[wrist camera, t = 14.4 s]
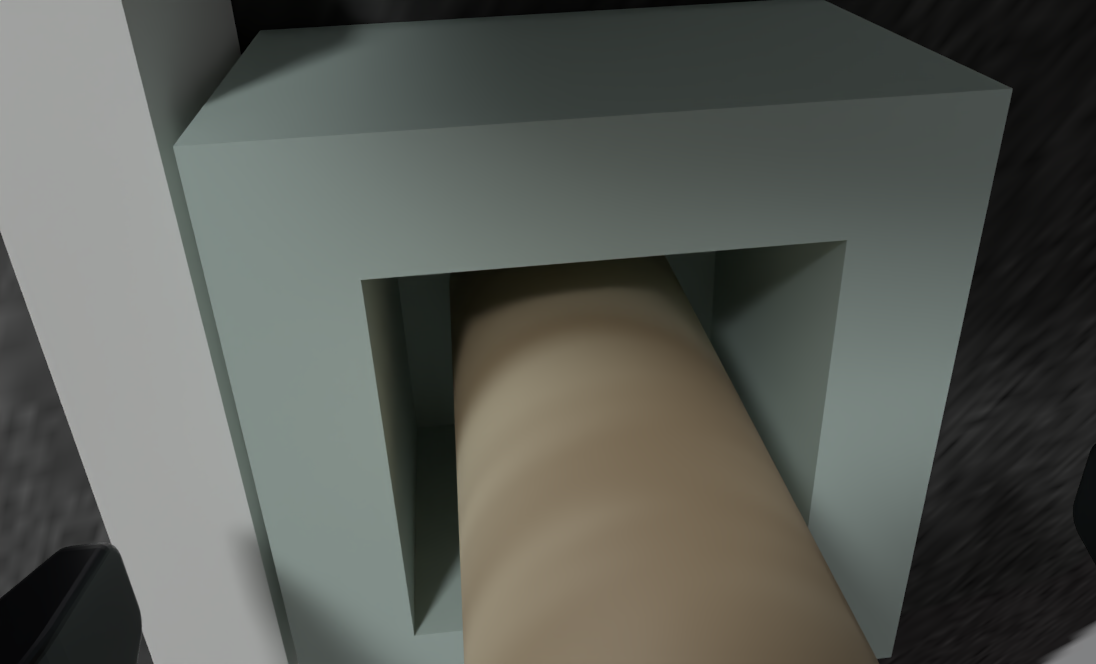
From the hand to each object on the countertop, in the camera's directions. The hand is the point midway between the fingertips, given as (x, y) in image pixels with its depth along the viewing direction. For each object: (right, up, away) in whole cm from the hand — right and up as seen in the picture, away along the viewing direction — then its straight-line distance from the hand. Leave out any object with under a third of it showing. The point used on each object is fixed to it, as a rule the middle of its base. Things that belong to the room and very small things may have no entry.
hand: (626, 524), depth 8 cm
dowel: (-1, +2, +4) cm, 5 cm away
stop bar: (-5, +2, +4) cm, 7 cm away
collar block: (-1, +3, +5) cm, 6 cm away
